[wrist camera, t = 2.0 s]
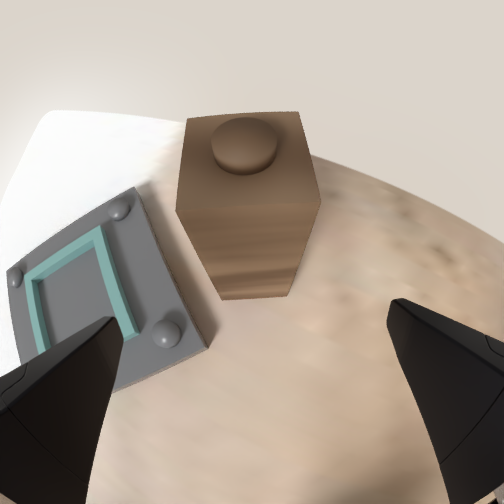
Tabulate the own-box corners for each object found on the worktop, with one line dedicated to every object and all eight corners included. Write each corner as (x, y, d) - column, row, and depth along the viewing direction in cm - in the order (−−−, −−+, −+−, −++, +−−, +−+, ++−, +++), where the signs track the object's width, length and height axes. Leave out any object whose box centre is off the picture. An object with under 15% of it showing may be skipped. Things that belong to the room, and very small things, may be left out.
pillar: (286, 296, 21) (325, 188, 9) (221, 300, 21) (169, 198, 9) (280, 237, 23) (300, 98, 10) (220, 241, 23) (183, 105, 10)
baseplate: (48, 417, 17) (31, 419, 14) (14, 275, 22) (0, 267, 20) (208, 348, 20) (201, 346, 17) (139, 195, 25) (130, 180, 23)
